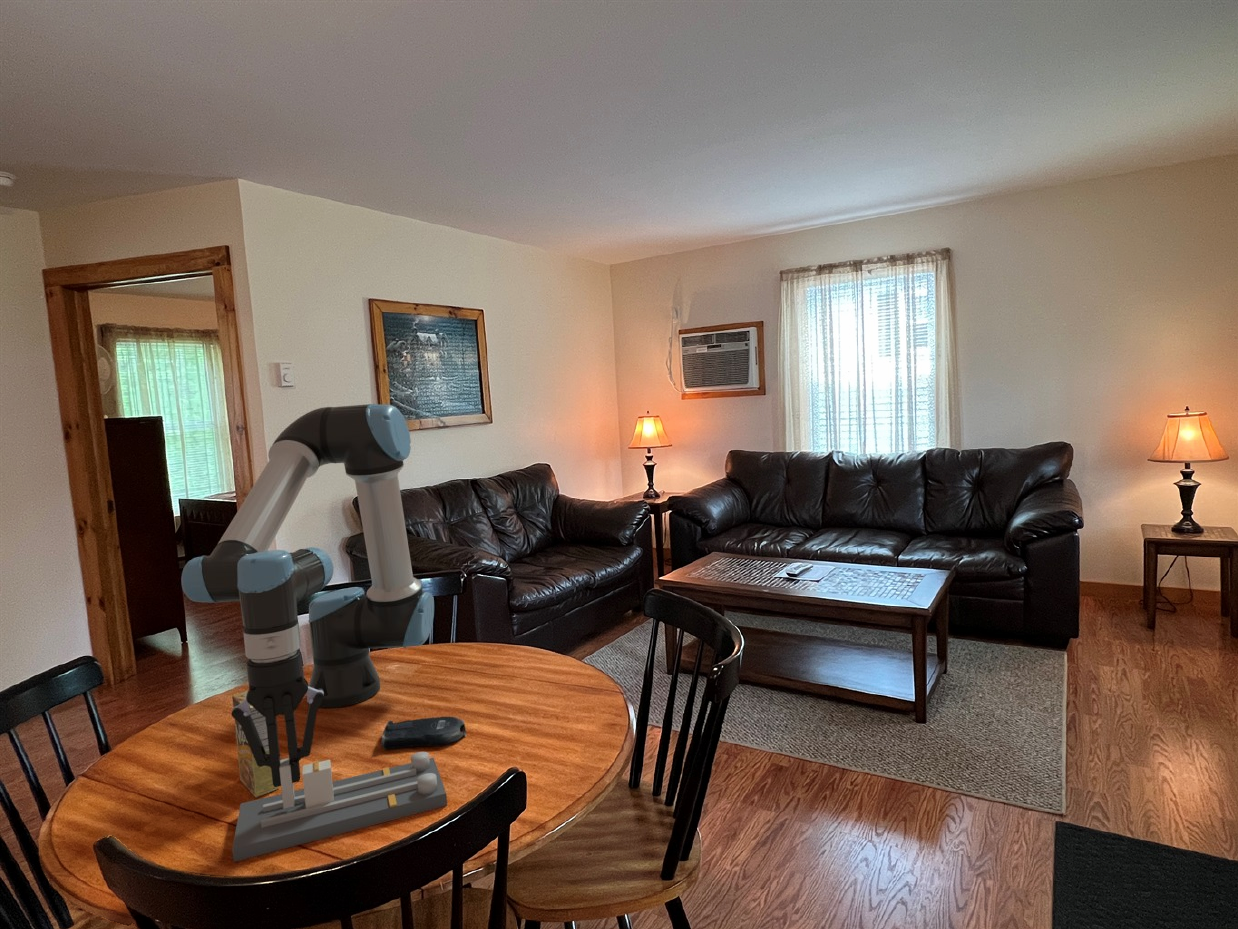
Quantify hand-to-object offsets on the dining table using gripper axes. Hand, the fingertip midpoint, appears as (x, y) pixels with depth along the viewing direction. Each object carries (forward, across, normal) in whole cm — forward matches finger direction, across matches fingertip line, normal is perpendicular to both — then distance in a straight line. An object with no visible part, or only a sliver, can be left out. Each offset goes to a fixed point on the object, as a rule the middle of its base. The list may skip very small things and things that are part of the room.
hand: (289, 803), depth 111 cm
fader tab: (+1, +4, 0) cm, 4 cm away
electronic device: (+4, +23, +20) cm, 30 cm away
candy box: (+4, -5, +16) cm, 17 cm away
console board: (+3, +8, 0) cm, 8 cm away
